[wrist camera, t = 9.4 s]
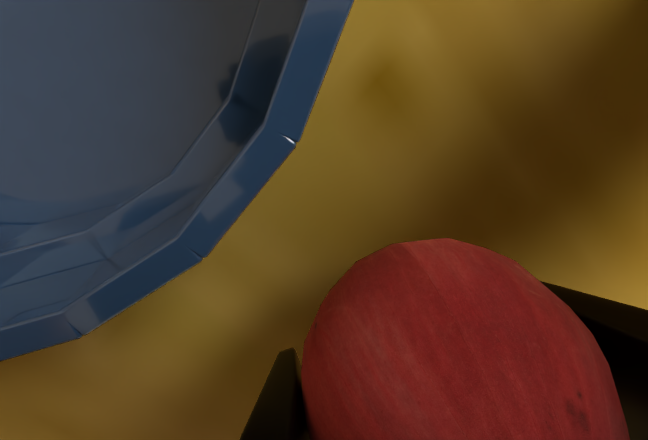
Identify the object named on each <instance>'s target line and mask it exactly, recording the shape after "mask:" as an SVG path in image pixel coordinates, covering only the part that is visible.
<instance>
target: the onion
mask: <svg viewBox="0 0 648 440" xmlns="http://www.w3.org/2000/svg"><path fill="white" fill-rule="evenodd" d="M301 380H302V396H303V405H304V411H305V418H306V424H307V429H308V433H309V438H310V440H630V437H629V432H628V427H627V424H626V420H625V417H624V413H623V410H622V407H621V403H620V400H619V396H618V393H617V390H616V387H615V383H614V380H613V377H612V373H611V370H610V367H609V364H608V362H607V360H606V358H605V356H604V355H603V353H602V351H601V349H600V347H599V345H598V343H597V341H596V339H595V338H594V336H593V334H592V333H591V331H590V330H589V329H588V328H587V327H586V326H585V324H584V323H583V322H582V321H581V320H580V318H579V317H578V316H577V315H576V314H575V313H574V311H573V310H572V309H571V308H570V307H569V306H568V305H567V304H566V303H564V302H563V301H562V300H561V299H560V298H559V297H557V296H556V295H555V294H554V293H553V292H552V291H550V290H549V289H548V288H547V287H546V286H545V285H543V284H542V283H541V282H540V281H539V280H537V279H536V278H535V277H534V276H533V275H532V274H530V273H529V272H528V271H527V270H526V269H524V268H523V267H522V266H521V265H520V264H519V263H517V262H516V261H515V260H513V259H510V258H508V257H506V256H503V255H501V254H499V253H496V252H494V251H492V250H489V249H487V248H484V247H480V246H477V245H473V244H469V243H465V242H462V241H458V240H454V239H451V238H440V239H428V240H420V241H411V242H403V243H395V244H390V245H388V246H386V247H384V248H382V249H380V250H378V251H376V252H374V253H372V254H370V255H368V256H366V257H364V258H362V259H360V260H358V261H356V262H355V263H354V264H353V266H352V267H351V268H350V269H349V270H348V271H347V272H346V273H345V274H344V275H343V277H342V278H341V279H340V280H339V281H338V282H337V283H336V284H335V285H334V286H333V288H332V289H331V290H330V291H329V293H328V294H327V296H326V297H325V299H324V301H323V302H322V304H321V305H320V308H319V310H318V312H317V314H316V317H315V319H314V321H313V323H312V325H311V328H310V330H309V332H308V334H307V337H306V339H305V341H304V348H303V358H302V368H301Z"/></svg>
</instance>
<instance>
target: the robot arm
mask: <svg viewBox="0 0 648 440" xmlns="http://www.w3.org/2000/svg"><path fill="white" fill-rule="evenodd" d="M540 282H541V283H542V284H543V285H545V286H546V287H547V288H548V289H549V290H550V291H552V292H553V293H554V294H555V295H556V296H557V297H559V298H560V299H561V300H562V301H563V302H564V303H566V304H567V305H568V306H569V307H570V308H571V309H572V310H573V311H574V313H575V314H576V315H577V316H578V317H579V318H580V320H581V321H582V322H583V323H584V324H585V326H586V327H587V328H588V329H589V330H590V331H591V333H592V334H593V336H594V338H595V339H596V341H597V343H598V345H599V347H600V349H601V351H602V353H603V355H604V356H605V358H606V360H607V362H608V364H609V367H610V370H611V373H612V377H613V380H614V383H615V387H616V390H617V393H618V396H619V400H620V403H621V407H622V410H623V413H624V417H625V420H626V424H627V427H628V432H629V437H630V440H648V310H645V309H642V308H638V307H634V306H631V305H627V304H623V303H620V302H616V301H612V300H608V299H605V298H601V297H597V296H594V295H590V294H586V293H583V292H579V291H575V290H572V289H568V288H564V287H561V286H557V285H553V284H549V283H546V282H542V281H540ZM301 368H302V366H301V364H300V361H299V358H298V355H297V352H296V350H295V349H294V348H290V349H287V350H284V351H281V352H279V353H278V355H277V357H276V360H275V362H274V364H273V366H272V369H271V371H270V373H269V375H268V377H267V380H266V382H265V384H264V386H263V389H262V391H261V393H260V395H259V397H258V400H257V402H256V404H255V406H254V409H253V411H252V413H251V415H250V417H249V420H248V422H247V424H246V426H245V429H244V431H243V433H242V435H241V437H240V440H310V438H309V433H308V429H307V424H306V418H305V411H304V405H303V396H302V380H301Z"/></svg>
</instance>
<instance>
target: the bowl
mask: <svg viewBox="0 0 648 440" xmlns="http://www.w3.org/2000/svg"><path fill="white" fill-rule="evenodd" d="M353 2H354V0H0V361H3V360H7V359H10V358H14V357H17V356H21V355H24V354H27V353H31V352H34V351H38V350H41V349H45V348H48V347H51V346H55V345H58V344H62V343H65V342H69V341H72V340H76V339H79V338H81V337H82V336H83V335H87V334H89V333H90V332H92V331H93V330H95V329H97V328H98V327H100V326H101V325H103V324H104V323H106V322H108V321H109V320H111V319H112V318H114V317H115V316H117V315H119V314H120V313H122V312H123V311H125V310H126V309H128V308H130V307H131V306H133V305H134V304H136V303H137V302H139V301H140V300H142V299H144V298H145V297H147V296H148V295H150V294H151V293H153V292H155V291H156V290H158V289H159V288H161V287H162V286H164V285H166V284H167V283H169V282H170V281H172V280H173V279H175V278H177V277H178V276H180V275H181V274H183V273H184V272H186V271H187V270H189V269H191V268H192V267H194V266H195V265H197V264H198V263H200V262H201V261H202V260H203V258H205V257H207V256H208V255H209V254H210V252H211V251H212V250H213V249H214V248H215V246H216V245H217V244H218V243H219V241H220V240H221V239H222V238H223V236H224V235H225V234H226V233H227V231H228V230H229V229H230V228H231V227H232V225H233V224H234V223H235V222H236V220H237V219H238V218H239V217H240V215H241V214H242V213H243V212H244V210H245V209H246V208H247V207H248V206H249V204H250V203H251V202H252V201H253V199H254V198H255V197H256V196H257V194H258V193H259V192H260V191H261V189H262V188H263V187H264V186H265V185H266V183H267V182H268V181H269V180H270V178H271V177H272V176H273V175H274V173H275V172H276V171H277V170H278V169H279V167H280V166H281V165H282V164H283V162H284V161H285V160H286V159H287V157H288V156H289V155H290V154H291V152H292V151H293V150H294V149H295V148H296V144H297V143H296V142H299V141H300V139H301V137H302V134H303V132H304V129H305V126H306V124H307V121H308V119H309V116H310V114H311V111H312V108H313V106H314V103H315V101H316V98H317V95H318V93H319V90H320V88H321V85H322V82H323V80H324V77H325V75H326V72H327V70H328V67H329V64H330V62H331V59H332V57H333V54H334V51H335V49H336V46H337V44H338V41H339V38H340V36H341V33H342V31H343V28H344V25H345V23H346V20H347V18H348V15H349V13H350V10H351V7H352V5H353Z"/></svg>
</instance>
